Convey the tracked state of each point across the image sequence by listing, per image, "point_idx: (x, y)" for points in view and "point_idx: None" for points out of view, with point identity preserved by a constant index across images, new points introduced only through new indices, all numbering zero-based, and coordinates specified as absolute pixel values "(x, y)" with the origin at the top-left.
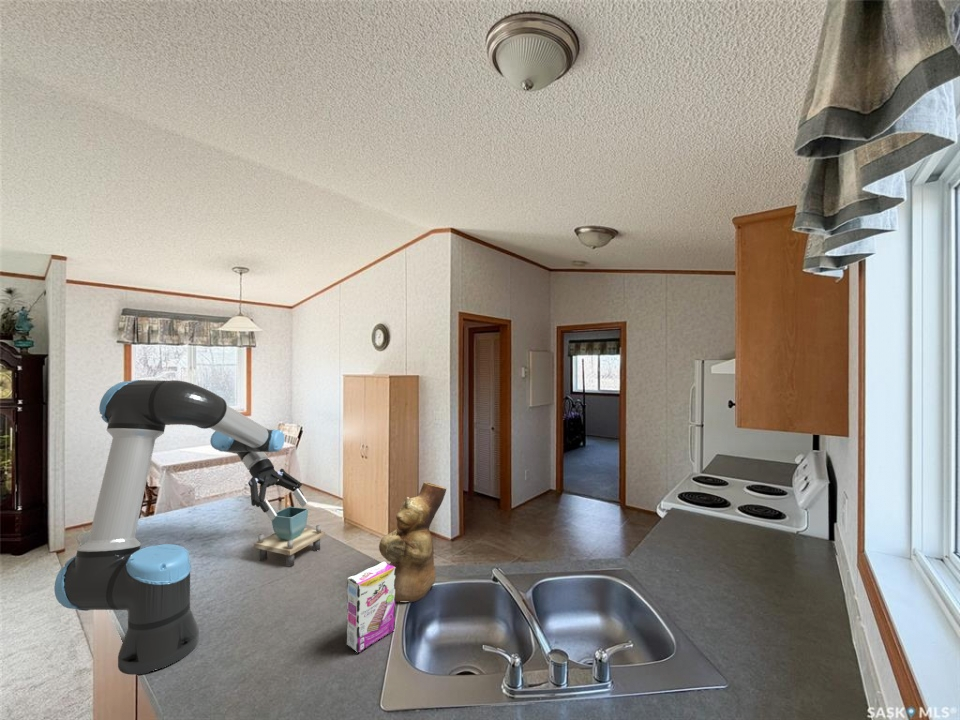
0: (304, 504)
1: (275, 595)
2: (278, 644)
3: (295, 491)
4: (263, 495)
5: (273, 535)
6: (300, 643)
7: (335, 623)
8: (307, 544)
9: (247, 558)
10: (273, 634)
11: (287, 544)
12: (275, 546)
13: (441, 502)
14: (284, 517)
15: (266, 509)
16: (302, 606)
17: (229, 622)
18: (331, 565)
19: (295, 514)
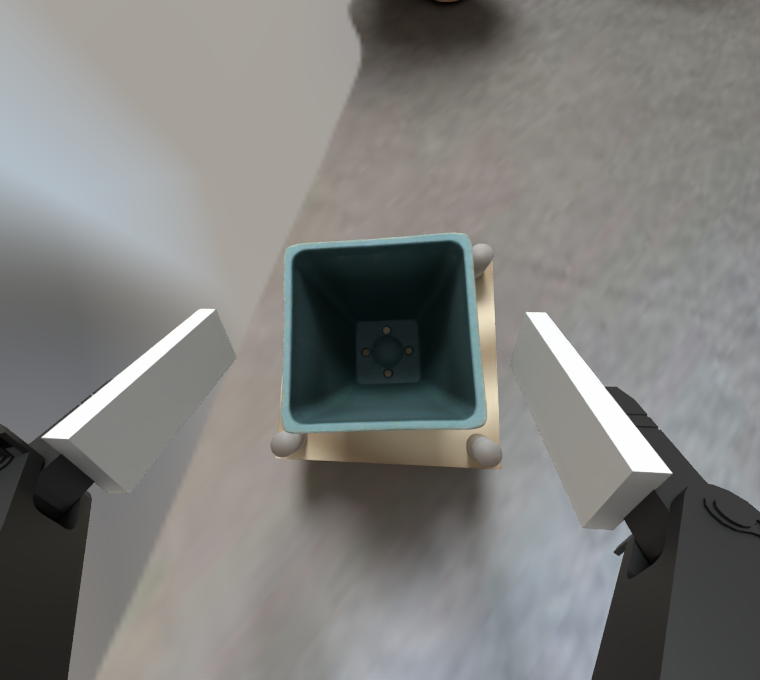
0: (223, 329)
1: (603, 206)
2: (741, 50)
3: (106, 450)
4: (720, 611)
5: (398, 447)
6: (711, 16)
7: (619, 4)
8: None
9: (473, 494)
10: (723, 84)
11: (485, 268)
12: (485, 341)
13: None
14: (474, 287)
15: (620, 391)
16: (606, 108)
17: (756, 213)
18: (404, 184)
19: (310, 360)
